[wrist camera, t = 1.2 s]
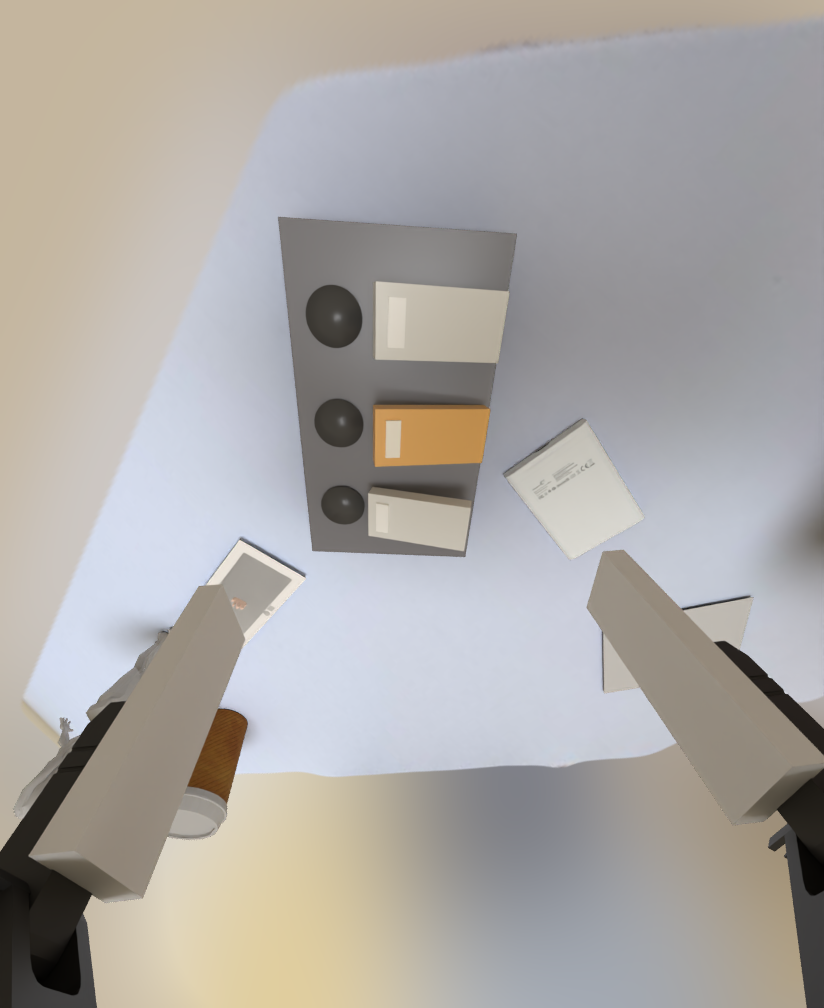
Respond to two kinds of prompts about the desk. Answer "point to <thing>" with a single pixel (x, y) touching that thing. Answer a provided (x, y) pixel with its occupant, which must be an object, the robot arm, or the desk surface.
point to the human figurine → (114, 694)
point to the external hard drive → (575, 491)
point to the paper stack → (712, 620)
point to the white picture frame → (254, 586)
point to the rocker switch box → (374, 364)
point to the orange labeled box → (429, 434)
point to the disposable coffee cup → (211, 779)
